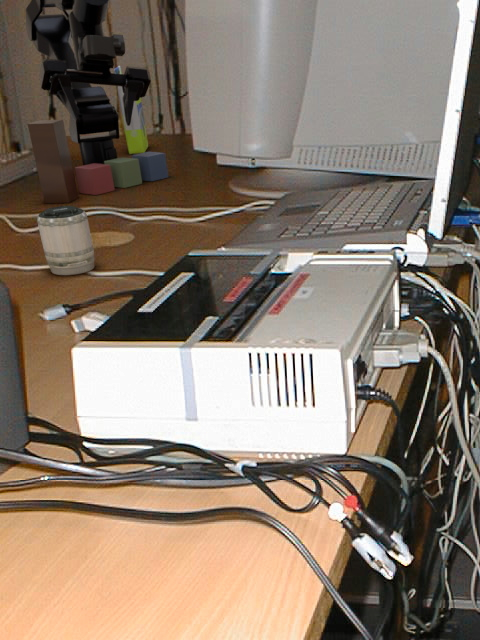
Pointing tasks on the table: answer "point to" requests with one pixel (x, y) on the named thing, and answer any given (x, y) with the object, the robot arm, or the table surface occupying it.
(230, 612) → the table surface
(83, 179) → the cube
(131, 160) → the cube
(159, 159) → the cube
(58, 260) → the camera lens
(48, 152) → the tall block
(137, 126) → the box
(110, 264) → the table surface
